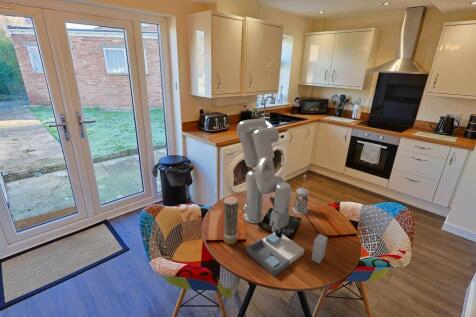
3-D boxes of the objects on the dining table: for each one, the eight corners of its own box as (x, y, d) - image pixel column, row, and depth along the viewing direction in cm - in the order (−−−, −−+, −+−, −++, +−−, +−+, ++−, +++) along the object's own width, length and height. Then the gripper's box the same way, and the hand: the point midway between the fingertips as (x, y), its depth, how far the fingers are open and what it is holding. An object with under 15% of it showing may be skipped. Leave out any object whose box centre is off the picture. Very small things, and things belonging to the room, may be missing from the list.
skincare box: (315, 252, 123) (319, 233, 118) (324, 256, 120) (327, 237, 116) (310, 259, 118) (314, 239, 114) (319, 264, 116) (323, 243, 111)
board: (261, 244, 128) (261, 239, 126) (276, 235, 135) (277, 230, 134) (288, 265, 115) (288, 260, 114) (303, 253, 122) (304, 249, 121)
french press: (309, 214, 154) (315, 179, 144) (291, 214, 154) (295, 178, 145) (306, 206, 163) (311, 172, 154) (288, 205, 163) (292, 171, 154)
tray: (246, 252, 122) (246, 246, 121) (260, 243, 128) (260, 238, 127) (274, 276, 108) (274, 270, 107) (288, 266, 114) (289, 260, 113)
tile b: (265, 241, 125) (266, 237, 124) (272, 237, 128) (272, 233, 127) (273, 246, 122) (273, 242, 121) (279, 242, 125) (280, 238, 124)
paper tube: (239, 239, 131) (240, 198, 122) (232, 246, 125) (233, 205, 116) (228, 234, 134) (229, 195, 125) (221, 242, 128) (221, 200, 119)
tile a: (272, 255, 116) (271, 259, 117) (264, 260, 113) (264, 264, 114) (280, 262, 113) (279, 266, 113) (272, 267, 110) (272, 271, 111)
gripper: (285, 198, 128) (282, 227, 135) (265, 208, 119) (263, 239, 125) (297, 204, 123) (293, 234, 129) (277, 215, 113) (274, 247, 120)
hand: (278, 236), depth 127 cm, fingers closed
